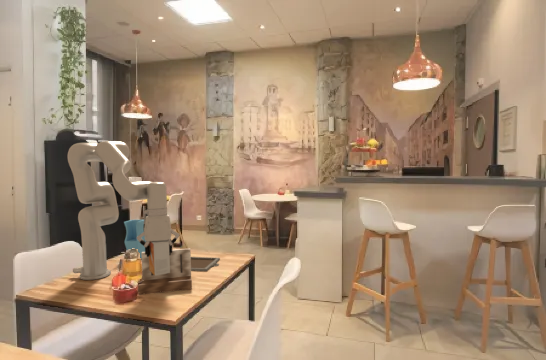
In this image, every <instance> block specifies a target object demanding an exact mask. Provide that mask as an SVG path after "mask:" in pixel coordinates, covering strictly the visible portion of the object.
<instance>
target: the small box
mask: <svg viewBox="0 0 546 360" xmlns="http://www.w3.org/2000/svg"><path fill="white" fill-rule="evenodd" d="M148 245H149V254H150V255H149V271H151V272H152V273H153V274H154V276H157V275H162V274H167V273H170V257H169V241H154V242H149V244H148Z"/></svg>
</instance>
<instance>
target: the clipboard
mask: <svg viewBox="0 0 546 360" xmlns="http://www.w3.org/2000/svg"><path fill="white" fill-rule="evenodd" d="M220 260H221V257H212V256H211V257H207V256H206V257H205V256H202V257H201V256H191V272H208V271H209V270H210V269H211V268H213V267H219V265H220V264H219V263H218V262H219V261H220Z"/></svg>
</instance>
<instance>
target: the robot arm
mask: <svg viewBox="0 0 546 360" xmlns="http://www.w3.org/2000/svg"><path fill="white" fill-rule="evenodd" d="M130 154H131V153H130V147H129V146H128V144H126V143H125V142H123V141H117V140H116V141H114V140H103V141H100V142H96V143H95V142H77V143H74V144H73V145H71V146H70V147H69V149H68V152H67V162H68V166H69V167H70V169H71V173H72V175H73V176H72V177H73V180H74V185H75V186H74V187H75V190H76V194H77V195H76V196H77V199H78V201H79V202H80V203H81V204H85V205H87V204H88V205H89V204H95V203H99V204H98V205H91V206H85V207H84V208H82V209H81V210H80V211H79V212H78V216H77V220H78V223H79V224H78V225H79V229H80V235H81V249H82V250H81V251H82V266H80V267H74V268H72V273H74V274H79V279H80V280H83V281H92V280H98V279H103V278H107V277H108V276H110V275H111V274H112V272H111V271H112V270H110V269H109V268H108V264H107V243H106V242H107V241H106V239H107V238H106V234H105V231H104V230H103V229H102V226H106V225H112V224H114V223H116V222H117V221H118V220H119V215H120V212H119V206H118V203H117V196H116V192H118V194H119V195H120V196H121V197H122V198H123V200H126V201H128V202H136V201H144V200H147V201H146V203H147V204H146V205H147V206H146V207H147V209H146V210H143V214H144V215H146V216H145V218H144V232H143V233H141V234H140V235H139V236H137V240H138V241H139V242H140V243H141V244H142V245H143V246H144V247H145V255H147V257H149V255H150V254H149V242H154V241H169V255H171V253H172V250H173V245H174V243H176V242H177V240H178V239H179V237H180V233H178V232H176V231H175V230H174V229H172V224H171V218H170V215H169V214H168V197H167V195H168V194H167V184H166V183H165V182H162V181H148V180H147V181H131V180H130V179H128V177H127V176H126V174H128V172H129V171H130V170H131V168H132V163H131V161H130V159H128V158H129V156H130ZM93 162H94V163H95V162H96V163H99V162H100V163H103V164H104V165H105V166H106V167H107V169H109V171H110V172H111V173H112V176H111V177H112V184H110V183H109V182H107V181H97V178H96V173H95V171H94V169H93V168H92V166H91V165H89V164H88V163H93ZM112 185H113V186H112ZM115 191H116V192H115ZM144 235H145V241H146V242H145V241H144V240H142V238H141V237H143V236H144ZM172 235H173V236H174V237H173V239H172Z"/></svg>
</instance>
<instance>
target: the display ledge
mask: <svg viewBox="0 0 546 360" xmlns="http://www.w3.org/2000/svg"><path fill="white" fill-rule="evenodd" d="M141 254H142V259H141V272H142V273H141V275H142V276H141V278H142V280H144V281H142V280H141V283H139V284H137V285H138V287H137V288H138V291H137V293H138V295H148V294H158V293H169V292H178V291H179V292H180V291H186V290H187V291H188V290H192V289H193V284H192V283H193V281H192V271H191V257H192V256H191V248H190V247H189V248H180V249H179V248H177V249H172V253H171V255H169V257H170V273H167V274H162V275H157V276H154V274H153V273H152V272H151V271H149V257H147V255H145V252H142V253H141Z"/></svg>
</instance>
